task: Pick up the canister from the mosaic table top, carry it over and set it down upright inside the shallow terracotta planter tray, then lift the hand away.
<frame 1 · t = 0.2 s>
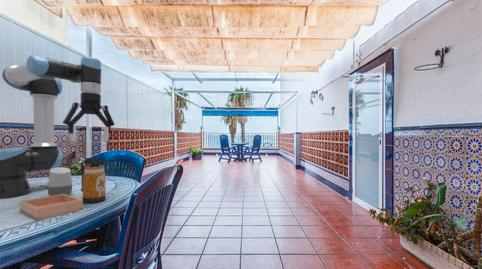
hand: (90, 141, 106), 28 cm above the table, tool pointing down, fingers open, 13 cm apart
planter tray: (51, 210, 96), on the table
smart speaker: (60, 197, 116), on the table
canister: (92, 201, 110), on the table
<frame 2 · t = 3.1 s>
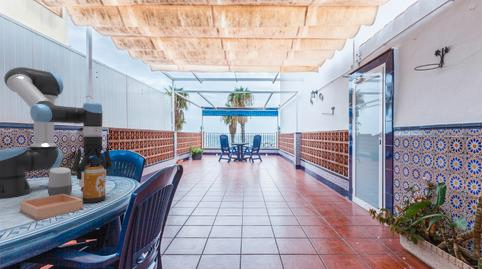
hand: (93, 184, 110), 8 cm above the table, tool pointing down, fingers closed on canister, 9 cm apart
canister: (92, 201, 110), on the table, touching gripper
everything else where it was.
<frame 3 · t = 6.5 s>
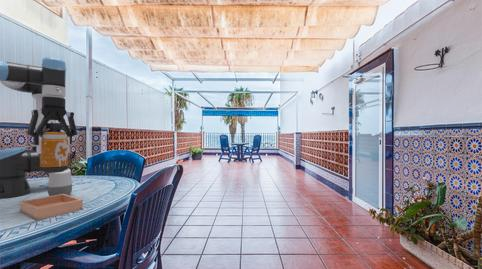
hand: (53, 152, 96), 23 cm above the table, tool pointing down, fingers closed on canister, 9 cm apart
canister: (52, 171, 96), point 16 cm above the table, touching gripper
everything else where it was.
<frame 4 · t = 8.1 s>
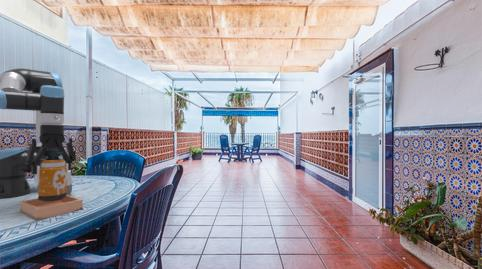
hand: (52, 180, 96), 12 cm above the table, tool pointing down, fingers closed on canister, 9 cm apart
canister: (50, 199, 96), point 5 cm above the table, touching gripper
everything else where it was.
when the fingers open (10 cm above the table, at t = 9.5 s): canister drops 1 cm, resting on planter tray.
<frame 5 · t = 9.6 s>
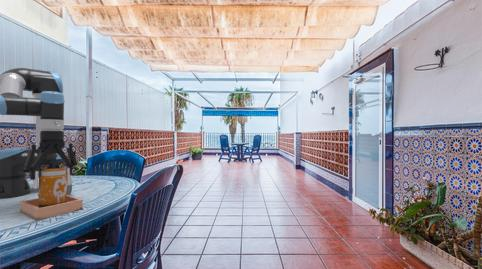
hand: (52, 185, 96), 10 cm above the table, tool pointing down, fingers open, 10 cm apart
canister: (50, 208, 96), point 1 cm above the table, touching planter tray
everything else where it was.
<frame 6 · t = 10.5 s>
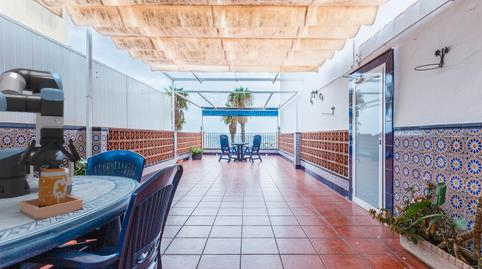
hand: (51, 179, 96), 12 cm above the table, tool pointing down, fingers open, 13 cm apart
nothing on the table moved.
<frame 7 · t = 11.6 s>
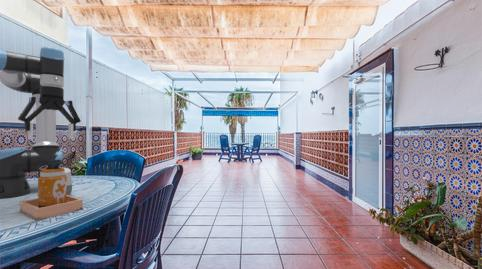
hand: (51, 139, 97), 29 cm above the table, tool pointing down, fingers open, 13 cm apart
nothing on the table moved.
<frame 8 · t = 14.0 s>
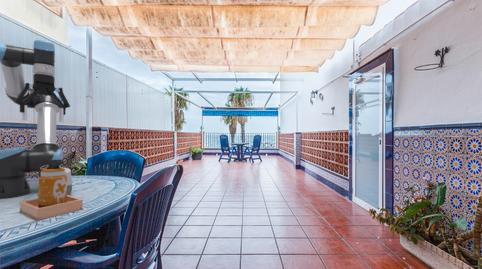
hand: (43, 121, 110), 37 cm above the table, tool pointing down, fingers open, 13 cm apart
nothing on the table moved.
at the end: canister inside the target area on the planter tray (0.4 cm from its centre), point 0.8 cm above the planter tray's base; canister tilted 1°; the gripper is holding nothing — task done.
